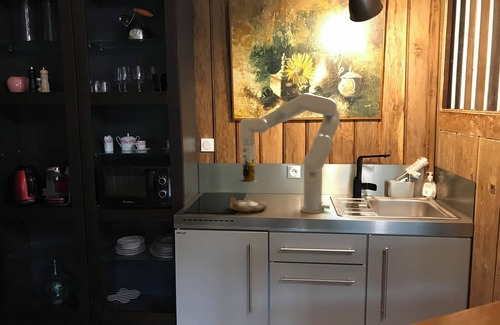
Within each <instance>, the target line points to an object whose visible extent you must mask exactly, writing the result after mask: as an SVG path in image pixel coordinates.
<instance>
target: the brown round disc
mask: <svg viewBox="0 0 500 325" xmlns="http://www.w3.org/2000/svg"><path fill="white" fill-rule="evenodd" d="M236 199H237V198H236V197H231V198H230V203H229V209H230V210H233V211H236V212H240V211H256V212H258V211H264V210H265V209H267V202H266V201H263V200H257V199H243V200H242V199H241V200H236Z"/></svg>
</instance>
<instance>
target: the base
mask: <svg viewBox="0 0 500 325" xmlns="http://www.w3.org/2000/svg"><path fill="white" fill-rule="evenodd" d="M239 212H241V213H256V212H257V211H239Z"/></svg>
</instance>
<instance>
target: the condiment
mask: <svg viewBox="0 0 500 325" xmlns="http://www.w3.org/2000/svg"><path fill="white" fill-rule="evenodd" d="M245 163H248V162H245ZM255 166H256V164H255V162H254V159H252V163H251V164H249V167H248V169H249V177H244V176H243V179H238V180H237V181H238V182H240V183H243V184H245V183H247V184H248V183H256V182H257V179H256V180H255V178H256V177H255V176H256V172H255V170H256V167H255Z"/></svg>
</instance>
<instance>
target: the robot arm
mask: <svg viewBox="0 0 500 325" xmlns="http://www.w3.org/2000/svg"><path fill="white" fill-rule="evenodd" d="M306 111H308V112H310V113H315V114H320V115H322V117H323V118H322V121H321V123H320V127H319V129H318V131H317V132H316V135H315V136H314V138H313V140H312V145H311V147H310V150H309V152H308V153H307V154H306V155H305V156H304V159H303V206H301V207H300V211H301V212H303V213H306V214H321V213H324V212H325V210H326V209H327V210H330V209H331V205H330V204H324V202H323V199H322V197H323V194H322V192H323V167H324V166H325V164H326V161H327V159H328V158H329V155H330V153H331V151H332V148H333V142H334V141H333V139H334V138H335V135H336V132H337V131H338V127H339V125H340V121H341V120H340V119H341V117H340V115H341V114H340V111H339V109H338V104H337V103H336V101H335V100H334V99H332V98H328V97H325V96H320V95H317V94H313V93H308V92H304V93H302V94H299V95H298V96H297V97H295V98H293V99H291V100H288V101H287V102H286V103H285V102H284V103H283V104H281V105H280V106H278V107H277V108H276V109H275V110H273V111H271V112H269V113H268V114H266V115H264V116H262V117H260V118H255V119H254V118H242V119H241V120H240V146H241V164H242V177H243V178H244V177H249V169H248V167H249V164H251V163H252V159H254V163H255V161H256V153H255V152H256V151H255V146H256V144H255V143H256V142H255V141H256V139H255V138H256V133H259V134H264V133H266V132H267V131H269V130H271V129H272V128H274V127H275V126H277V125H280V124H282V123H285V122H288V121H290V120H291V119H293V118H296V117H297V116H299V115H301V114H303V113H304V112H306ZM245 162H248V163H245Z"/></svg>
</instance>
